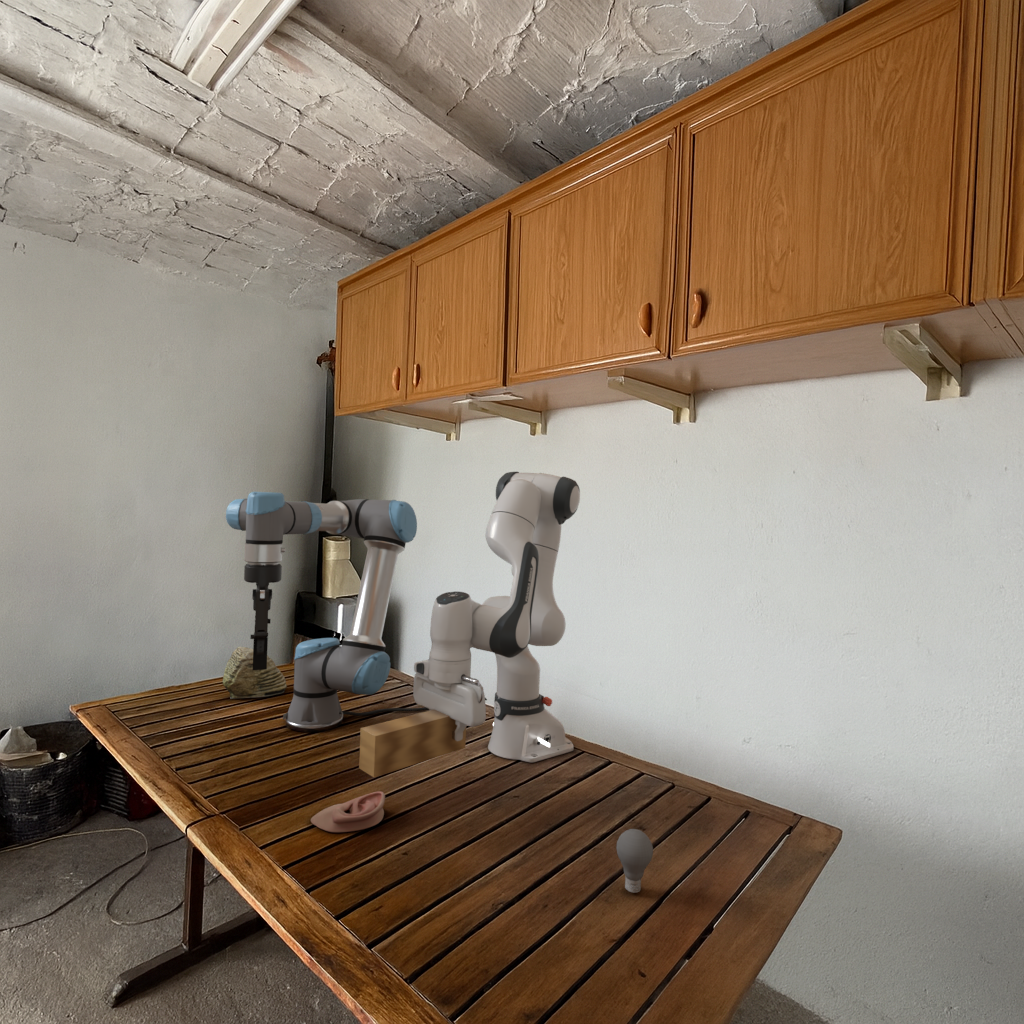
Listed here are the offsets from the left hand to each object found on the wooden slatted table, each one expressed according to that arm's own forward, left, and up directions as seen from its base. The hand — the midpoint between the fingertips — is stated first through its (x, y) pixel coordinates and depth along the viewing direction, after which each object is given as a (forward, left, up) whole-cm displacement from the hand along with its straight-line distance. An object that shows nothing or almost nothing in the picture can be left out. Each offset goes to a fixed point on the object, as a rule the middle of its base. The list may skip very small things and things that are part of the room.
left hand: (259, 661), depth 137 cm
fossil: (-32, -57, -27) cm, 71 cm away
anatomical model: (-5, +26, -27) cm, 38 cm away
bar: (-15, +34, -16) cm, 40 cm away
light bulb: (-23, +79, -27) cm, 87 cm away
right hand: (-23, +35, -13) cm, 44 cm away
